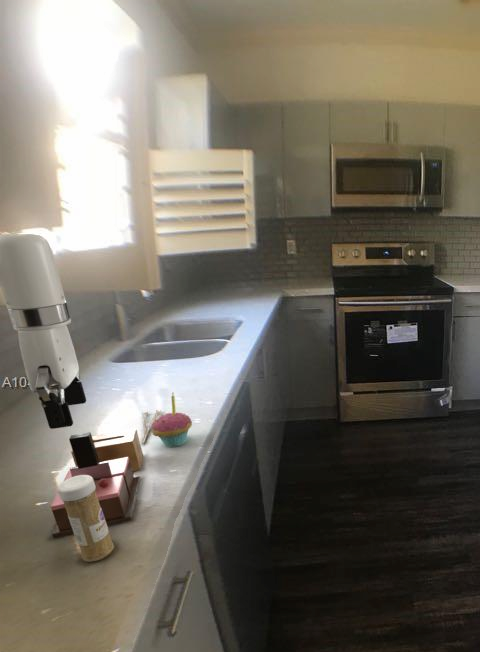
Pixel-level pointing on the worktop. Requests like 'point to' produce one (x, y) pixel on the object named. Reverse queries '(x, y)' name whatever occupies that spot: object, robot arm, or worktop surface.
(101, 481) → the pink double-door cabinet
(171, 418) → the cupcake
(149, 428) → the tweezers
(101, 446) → the knife block
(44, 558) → the worktop surface
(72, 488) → the sprinkles bottle
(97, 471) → the knife
